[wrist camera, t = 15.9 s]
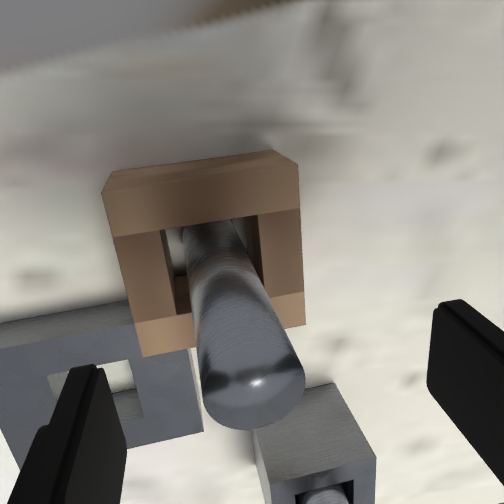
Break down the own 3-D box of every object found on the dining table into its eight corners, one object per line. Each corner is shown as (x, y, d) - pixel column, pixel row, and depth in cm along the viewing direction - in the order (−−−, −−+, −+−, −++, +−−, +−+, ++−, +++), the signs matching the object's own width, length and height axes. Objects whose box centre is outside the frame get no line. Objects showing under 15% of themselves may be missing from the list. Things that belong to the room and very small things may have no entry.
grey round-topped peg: (231, 206, 21) (303, 335, 10) (237, 254, 22) (307, 417, 12) (178, 214, 21) (195, 358, 10) (187, 263, 22) (210, 440, 11)
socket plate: (179, 291, 23) (180, 314, 20) (200, 400, 26) (203, 431, 24) (-14, 325, 21) (-35, 355, 19) (34, 437, 24) (21, 473, 22)
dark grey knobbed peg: (323, 402, 27) (391, 538, 19) (324, 444, 29) (387, 587, 21) (265, 415, 27) (310, 562, 19) (270, 458, 28) (313, 610, 20)
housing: (334, 382, 27) (376, 457, 22) (335, 446, 30) (373, 527, 24) (247, 402, 27) (269, 484, 21) (256, 465, 29) (277, 554, 24)
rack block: (274, 149, 21) (297, 164, 17) (284, 287, 24) (306, 324, 20) (112, 171, 19) (101, 192, 16) (146, 313, 23) (143, 357, 19)
